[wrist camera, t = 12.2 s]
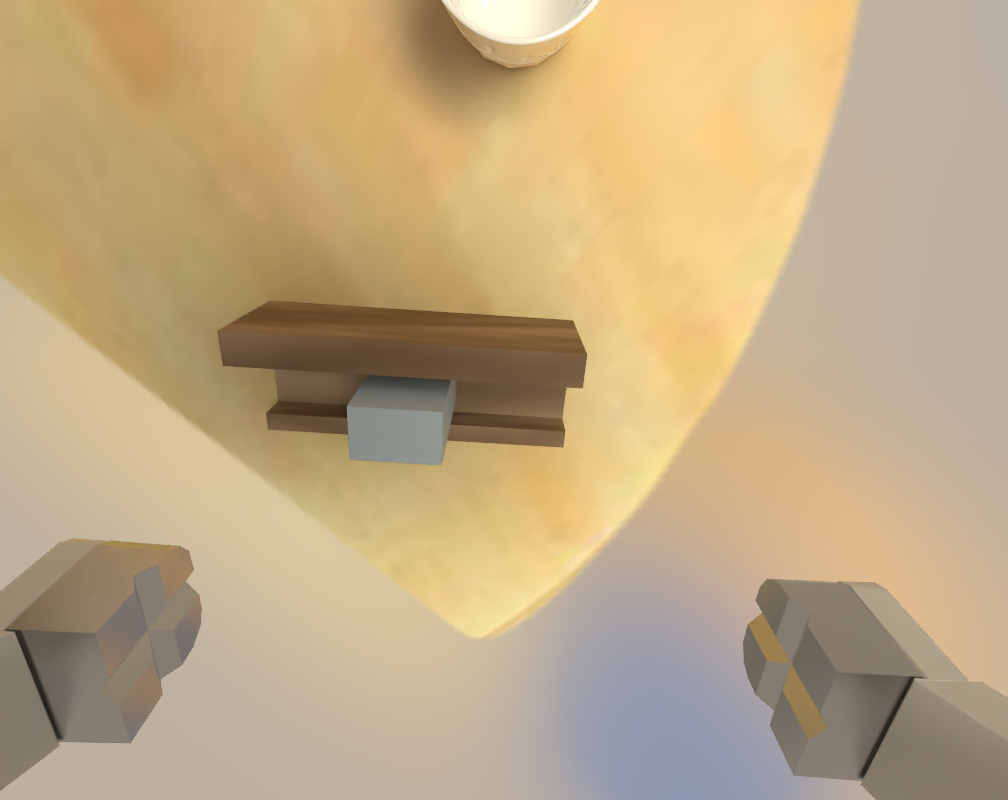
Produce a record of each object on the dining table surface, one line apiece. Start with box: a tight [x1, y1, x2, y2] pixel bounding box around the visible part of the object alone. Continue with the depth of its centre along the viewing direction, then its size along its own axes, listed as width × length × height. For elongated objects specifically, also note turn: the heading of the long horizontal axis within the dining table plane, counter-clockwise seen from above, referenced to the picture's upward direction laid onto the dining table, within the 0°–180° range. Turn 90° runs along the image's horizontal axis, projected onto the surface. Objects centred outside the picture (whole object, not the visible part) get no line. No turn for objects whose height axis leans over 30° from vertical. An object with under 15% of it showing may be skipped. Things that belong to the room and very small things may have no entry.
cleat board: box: [218, 301, 587, 447], centre depth 34 cm, size 8×20×7 cm, turn 86°
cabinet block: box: [347, 375, 457, 465], centre depth 33 cm, size 4×5×9 cm
